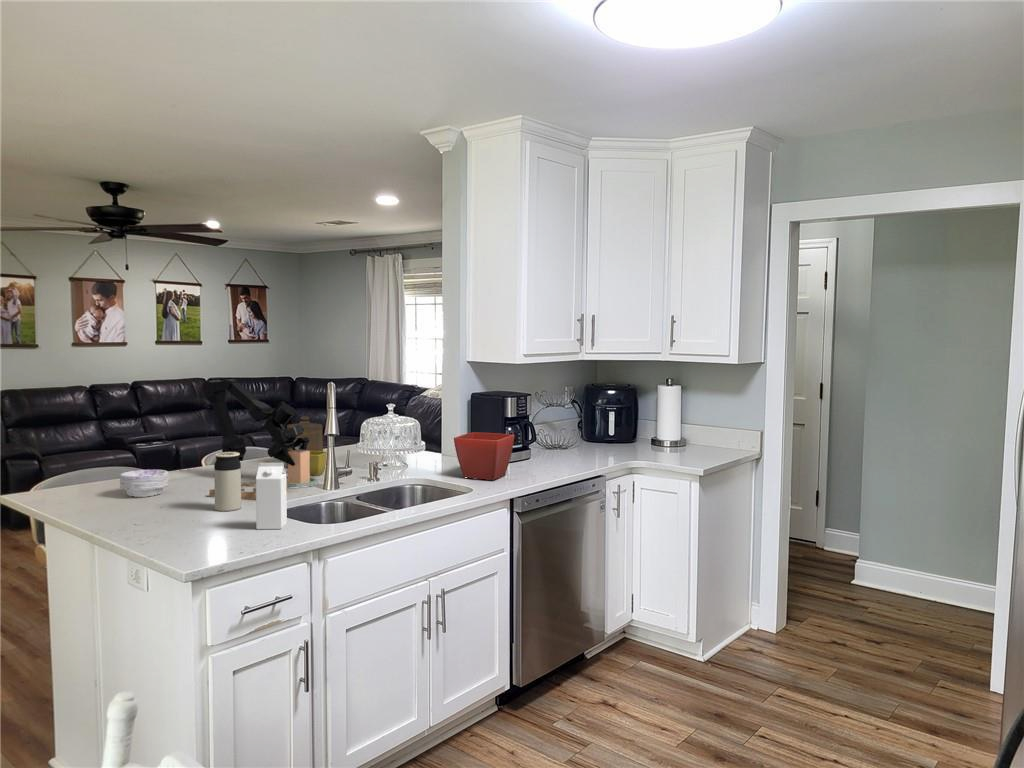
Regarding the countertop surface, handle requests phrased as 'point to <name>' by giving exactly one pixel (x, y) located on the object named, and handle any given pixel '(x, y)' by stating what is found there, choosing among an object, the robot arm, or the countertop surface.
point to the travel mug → (227, 481)
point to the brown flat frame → (246, 494)
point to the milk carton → (271, 496)
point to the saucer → (312, 482)
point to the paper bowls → (144, 482)
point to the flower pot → (317, 462)
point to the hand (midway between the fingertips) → (301, 463)
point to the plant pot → (484, 454)
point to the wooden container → (310, 434)
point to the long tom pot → (299, 466)
